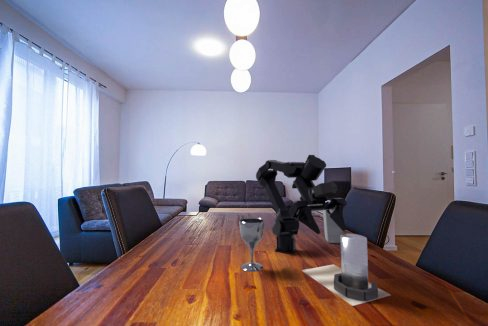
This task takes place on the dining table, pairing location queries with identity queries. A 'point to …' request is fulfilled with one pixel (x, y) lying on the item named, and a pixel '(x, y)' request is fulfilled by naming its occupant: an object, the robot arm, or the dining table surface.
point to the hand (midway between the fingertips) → (332, 232)
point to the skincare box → (331, 229)
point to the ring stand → (333, 282)
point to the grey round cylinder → (354, 261)
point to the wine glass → (251, 239)
